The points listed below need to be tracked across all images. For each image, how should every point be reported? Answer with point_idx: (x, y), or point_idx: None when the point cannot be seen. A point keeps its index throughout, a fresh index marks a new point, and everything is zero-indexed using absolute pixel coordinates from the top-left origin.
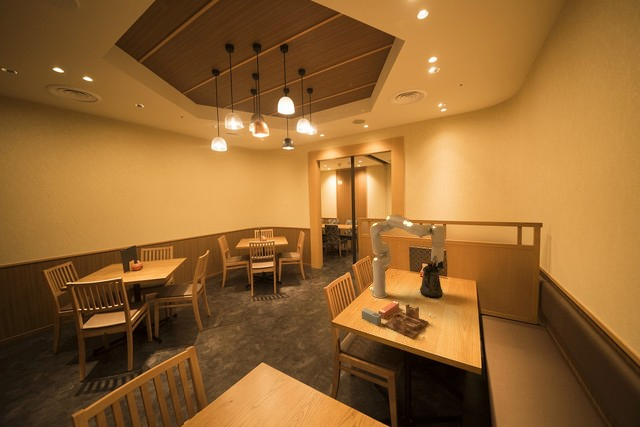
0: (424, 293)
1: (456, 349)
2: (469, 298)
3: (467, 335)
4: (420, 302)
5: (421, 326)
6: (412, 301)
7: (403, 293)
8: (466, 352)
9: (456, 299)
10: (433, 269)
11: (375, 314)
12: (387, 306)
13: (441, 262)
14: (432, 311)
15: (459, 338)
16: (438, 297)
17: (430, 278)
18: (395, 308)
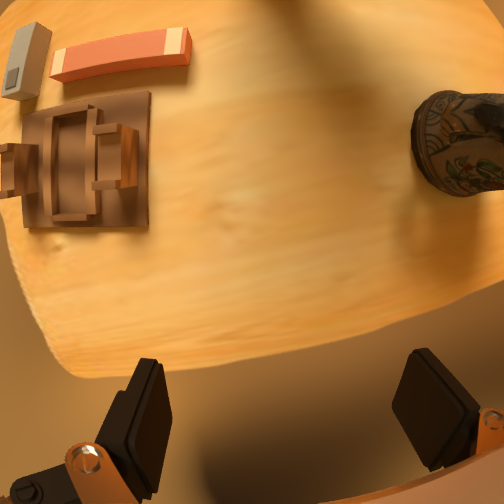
0: (419, 118)
1: (81, 339)
2: (479, 283)
3: (178, 353)
4: (336, 118)
5: (91, 220)
6: (318, 82)
7: (372, 27)
8: (92, 359)
9: (456, 248)
10: (115, 403)
11: (9, 79)
12: (108, 44)
13: (443, 462)
14: (277, 198)
15: (139, 337)
16: (432, 183)
17: (490, 143)
18: (149, 63)
